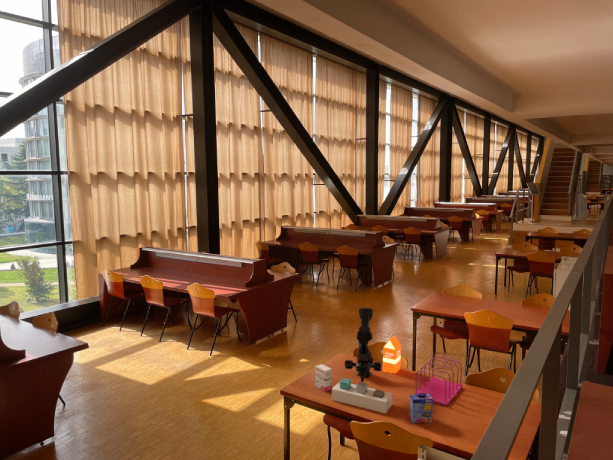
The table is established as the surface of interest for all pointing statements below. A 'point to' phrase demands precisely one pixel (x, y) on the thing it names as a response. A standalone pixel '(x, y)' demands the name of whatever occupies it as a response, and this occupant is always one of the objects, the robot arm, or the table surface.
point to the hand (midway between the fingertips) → (362, 381)
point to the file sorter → (440, 384)
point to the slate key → (361, 388)
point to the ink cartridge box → (421, 407)
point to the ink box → (323, 377)
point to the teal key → (345, 384)
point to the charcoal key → (378, 393)
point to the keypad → (362, 398)
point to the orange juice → (392, 355)
